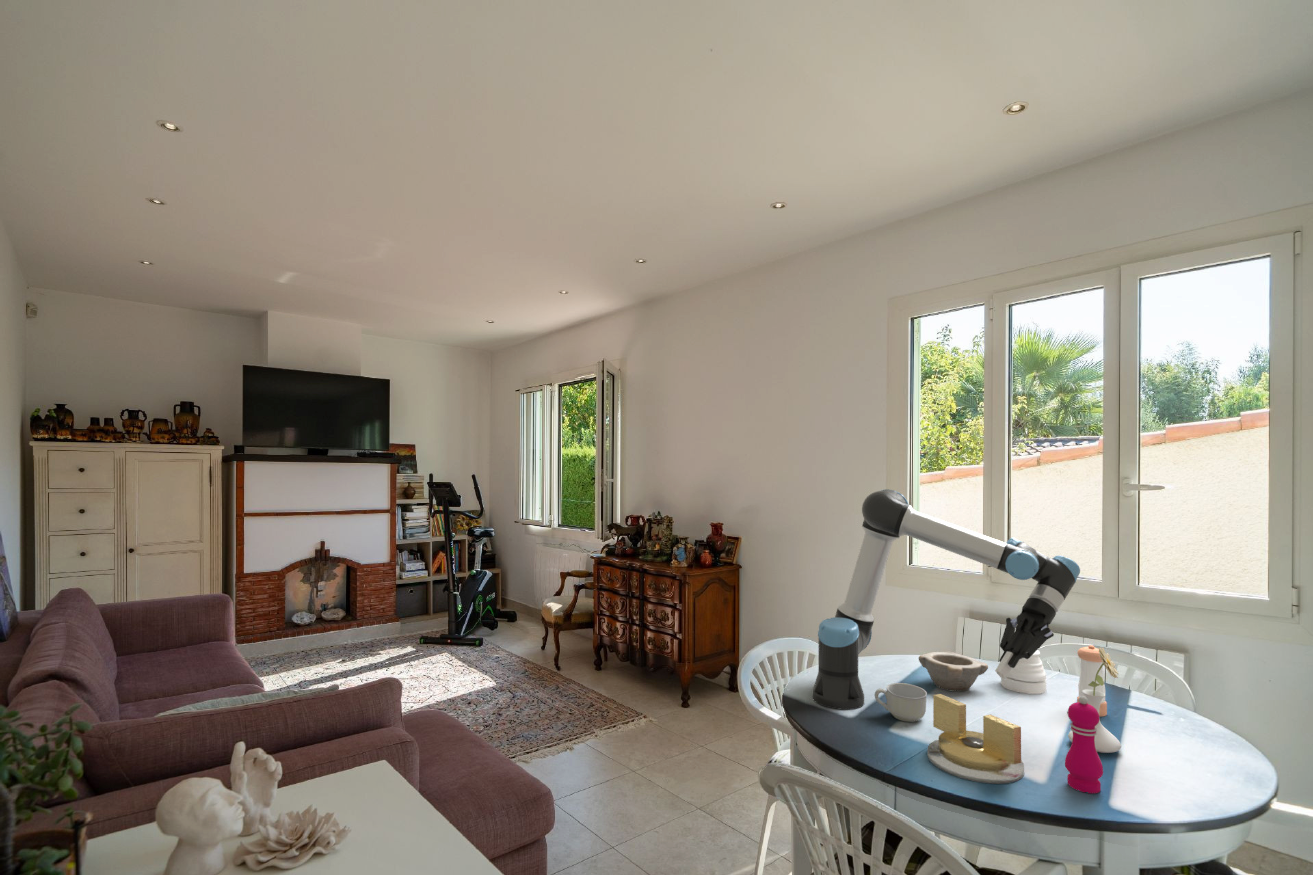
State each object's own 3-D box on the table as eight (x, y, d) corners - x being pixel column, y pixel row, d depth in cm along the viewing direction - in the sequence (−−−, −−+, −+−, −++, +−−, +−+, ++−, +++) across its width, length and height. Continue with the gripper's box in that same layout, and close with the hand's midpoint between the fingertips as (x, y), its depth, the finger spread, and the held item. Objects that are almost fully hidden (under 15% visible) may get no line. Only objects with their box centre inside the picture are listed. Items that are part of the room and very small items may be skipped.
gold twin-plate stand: (932, 761, 157) (932, 716, 158) (933, 733, 173) (933, 692, 174) (1022, 777, 150) (1021, 729, 150) (1014, 746, 166) (1014, 703, 166)
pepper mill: (1057, 779, 153) (1057, 690, 154) (1087, 778, 154) (1086, 690, 155) (1080, 795, 146) (1079, 702, 147) (1111, 794, 147) (1110, 701, 148)
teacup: (925, 713, 193) (926, 685, 193) (928, 727, 182) (928, 697, 183) (874, 707, 197) (875, 679, 197) (874, 720, 187) (874, 691, 187)
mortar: (993, 692, 211) (993, 662, 211) (953, 699, 205) (953, 668, 205) (950, 676, 227) (951, 648, 227) (912, 681, 220) (912, 653, 220)
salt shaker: (1106, 718, 190) (1105, 650, 191) (1075, 712, 195) (1075, 645, 195) (1107, 711, 196) (1107, 644, 197) (1078, 705, 201) (1078, 640, 201)
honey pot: (995, 679, 224) (994, 624, 224) (1036, 681, 222) (1036, 626, 223) (1009, 692, 211) (1009, 634, 212) (1053, 695, 209) (1053, 636, 210)
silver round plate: (926, 772, 156) (926, 765, 156) (928, 738, 175) (928, 731, 175) (1029, 791, 148) (1029, 783, 148) (1019, 753, 167) (1019, 746, 167)
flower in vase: (1104, 760, 163) (1104, 657, 164) (1058, 743, 173) (1057, 645, 174) (1134, 750, 169) (1133, 650, 170) (1088, 734, 179) (1087, 639, 180)
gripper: (1072, 619, 179) (1029, 691, 171) (1027, 609, 191) (985, 676, 183) (1058, 601, 177) (1015, 673, 169) (1014, 591, 189) (971, 658, 181)
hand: (1000, 674), depth 176 cm, fingers closed
